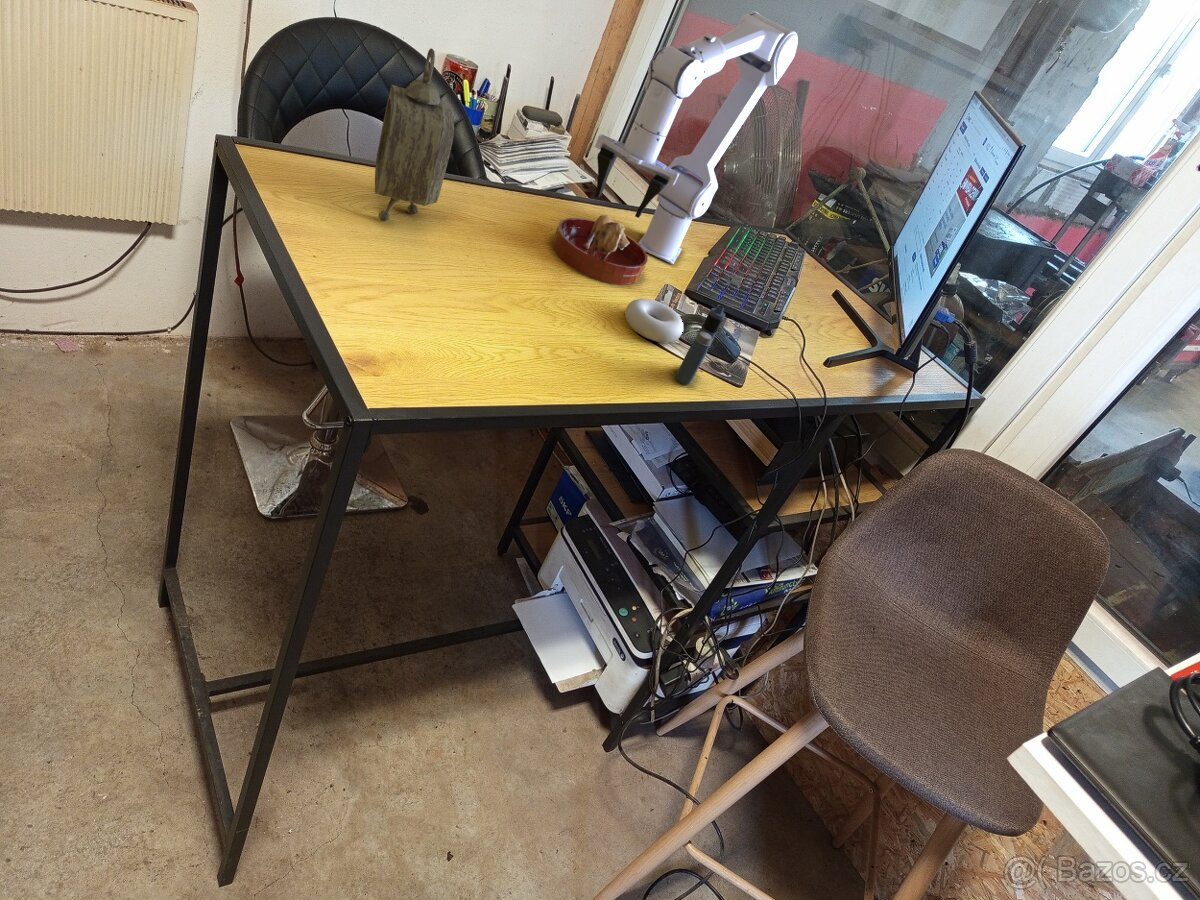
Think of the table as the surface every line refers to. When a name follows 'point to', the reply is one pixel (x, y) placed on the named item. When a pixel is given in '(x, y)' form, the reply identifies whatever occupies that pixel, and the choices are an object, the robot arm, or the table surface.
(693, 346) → the vaping device
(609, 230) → the lion figurine
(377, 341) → the table surface
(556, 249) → the bowl
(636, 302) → the donut
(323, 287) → the table surface
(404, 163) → the wooden cowbell
